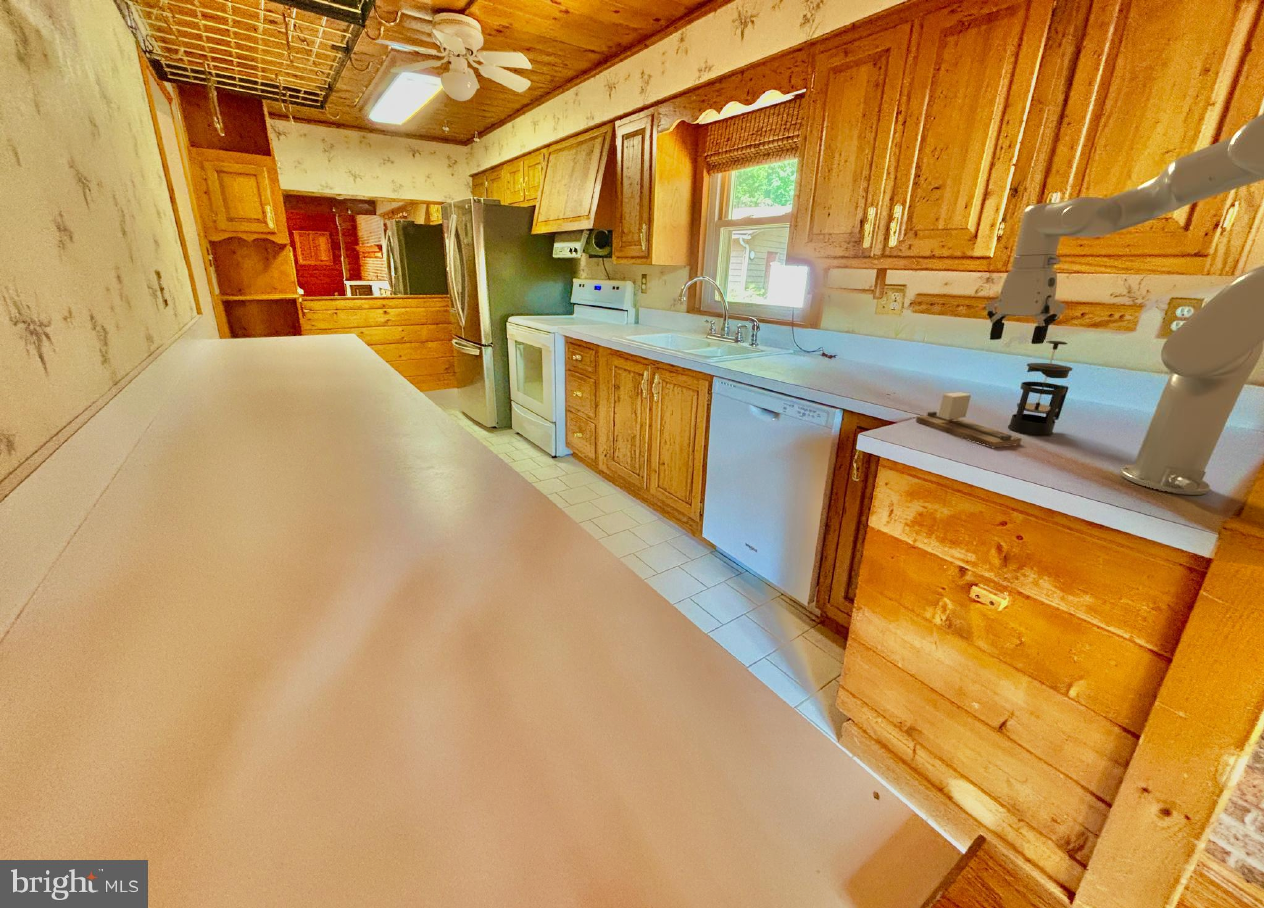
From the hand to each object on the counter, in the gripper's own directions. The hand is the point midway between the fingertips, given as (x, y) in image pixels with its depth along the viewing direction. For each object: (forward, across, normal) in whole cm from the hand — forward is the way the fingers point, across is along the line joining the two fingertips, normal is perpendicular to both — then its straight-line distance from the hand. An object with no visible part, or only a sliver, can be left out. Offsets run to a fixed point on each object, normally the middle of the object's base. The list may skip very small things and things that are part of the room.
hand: (1015, 341), depth 119 cm
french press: (+24, 0, -13) cm, 27 cm away
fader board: (+23, +5, +4) cm, 24 cm away
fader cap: (+21, +9, +4) cm, 23 cm away
